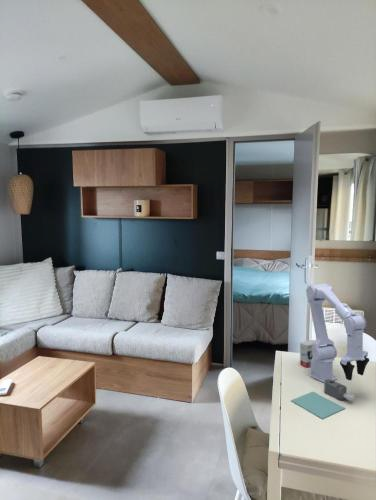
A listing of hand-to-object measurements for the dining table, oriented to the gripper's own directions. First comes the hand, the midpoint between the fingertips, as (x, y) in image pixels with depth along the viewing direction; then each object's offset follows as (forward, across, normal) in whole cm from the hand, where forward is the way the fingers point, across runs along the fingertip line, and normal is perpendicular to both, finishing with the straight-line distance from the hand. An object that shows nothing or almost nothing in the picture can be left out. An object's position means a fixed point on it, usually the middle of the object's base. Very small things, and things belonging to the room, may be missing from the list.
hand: (354, 376), depth 149 cm
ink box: (+10, +12, +33) cm, 36 cm away
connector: (+10, -4, +5) cm, 11 cm away
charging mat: (+10, -16, +5) cm, 19 cm away
